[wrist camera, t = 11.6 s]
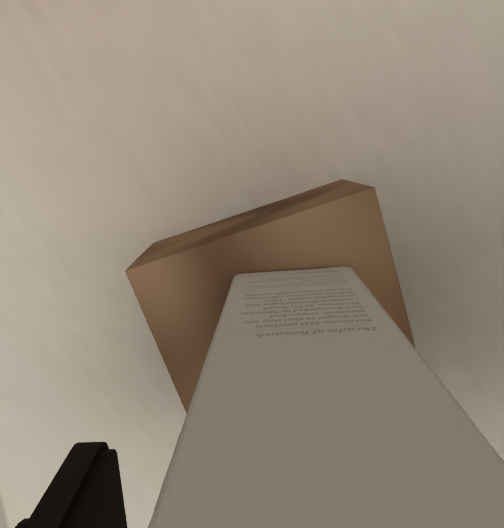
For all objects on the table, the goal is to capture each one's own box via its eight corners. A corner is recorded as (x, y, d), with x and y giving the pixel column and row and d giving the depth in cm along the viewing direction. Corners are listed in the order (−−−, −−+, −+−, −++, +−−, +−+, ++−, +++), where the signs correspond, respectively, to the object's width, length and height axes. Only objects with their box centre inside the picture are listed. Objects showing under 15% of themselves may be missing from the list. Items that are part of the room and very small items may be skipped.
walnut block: (340, 179, 19) (374, 187, 14) (387, 350, 21) (430, 409, 16) (154, 241, 19) (125, 270, 14) (219, 402, 21) (213, 474, 17)
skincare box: (360, 415, 16) (610, 1153, 4) (247, 420, 16) (174, 1119, 4) (354, 258, 14) (720, 694, 3) (231, 267, 14) (57, 692, 3)
